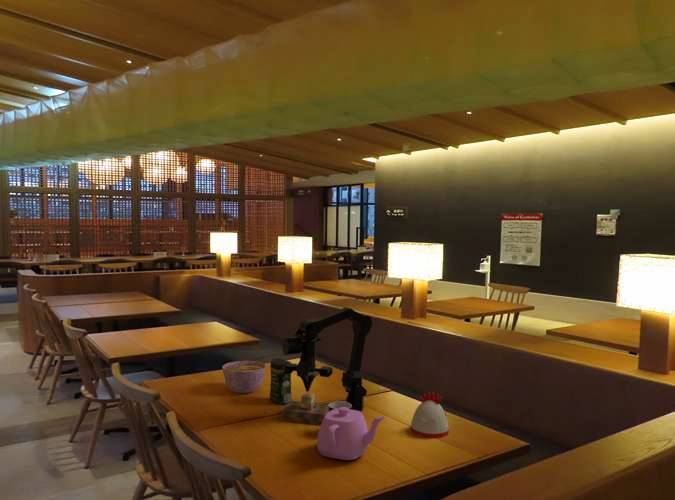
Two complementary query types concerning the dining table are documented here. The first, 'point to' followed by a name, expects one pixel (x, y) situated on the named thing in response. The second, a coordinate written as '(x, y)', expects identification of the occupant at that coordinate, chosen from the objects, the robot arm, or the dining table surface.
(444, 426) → the kitchen timer
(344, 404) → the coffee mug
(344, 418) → the teapot
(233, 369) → the bowl of food
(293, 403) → the grey block with hole
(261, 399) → the dining table surface
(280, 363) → the coffee jar
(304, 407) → the wooden post
